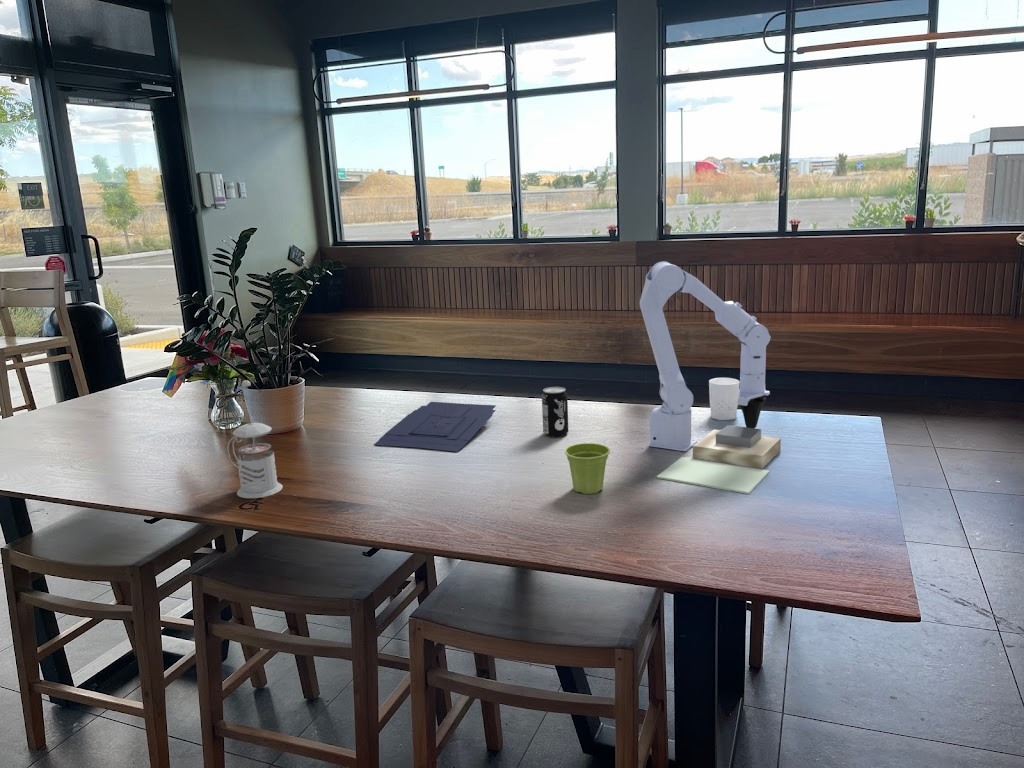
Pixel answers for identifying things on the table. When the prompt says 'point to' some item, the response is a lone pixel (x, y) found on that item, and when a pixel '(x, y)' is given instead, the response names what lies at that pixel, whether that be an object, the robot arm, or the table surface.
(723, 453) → the board
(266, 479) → the french press
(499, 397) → the table surface
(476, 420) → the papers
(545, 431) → the beverage can
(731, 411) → the white cup
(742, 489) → the mat
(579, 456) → the plant pot
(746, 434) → the tile
